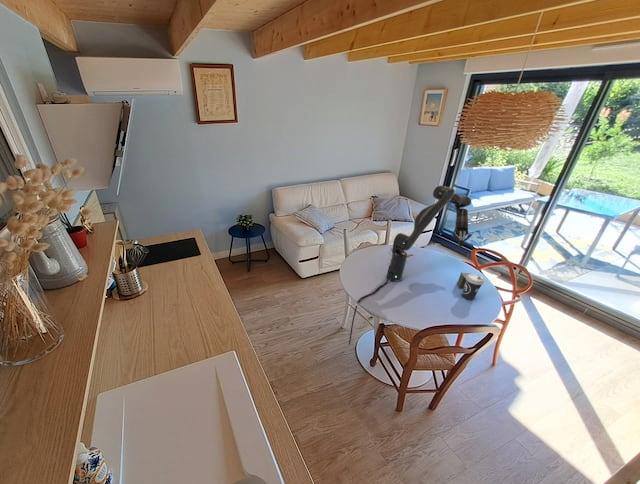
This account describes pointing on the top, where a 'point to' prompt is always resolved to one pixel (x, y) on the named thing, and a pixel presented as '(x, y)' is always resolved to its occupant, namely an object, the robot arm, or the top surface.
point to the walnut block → (462, 280)
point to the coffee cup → (472, 286)
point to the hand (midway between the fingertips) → (461, 246)
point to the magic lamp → (407, 255)
